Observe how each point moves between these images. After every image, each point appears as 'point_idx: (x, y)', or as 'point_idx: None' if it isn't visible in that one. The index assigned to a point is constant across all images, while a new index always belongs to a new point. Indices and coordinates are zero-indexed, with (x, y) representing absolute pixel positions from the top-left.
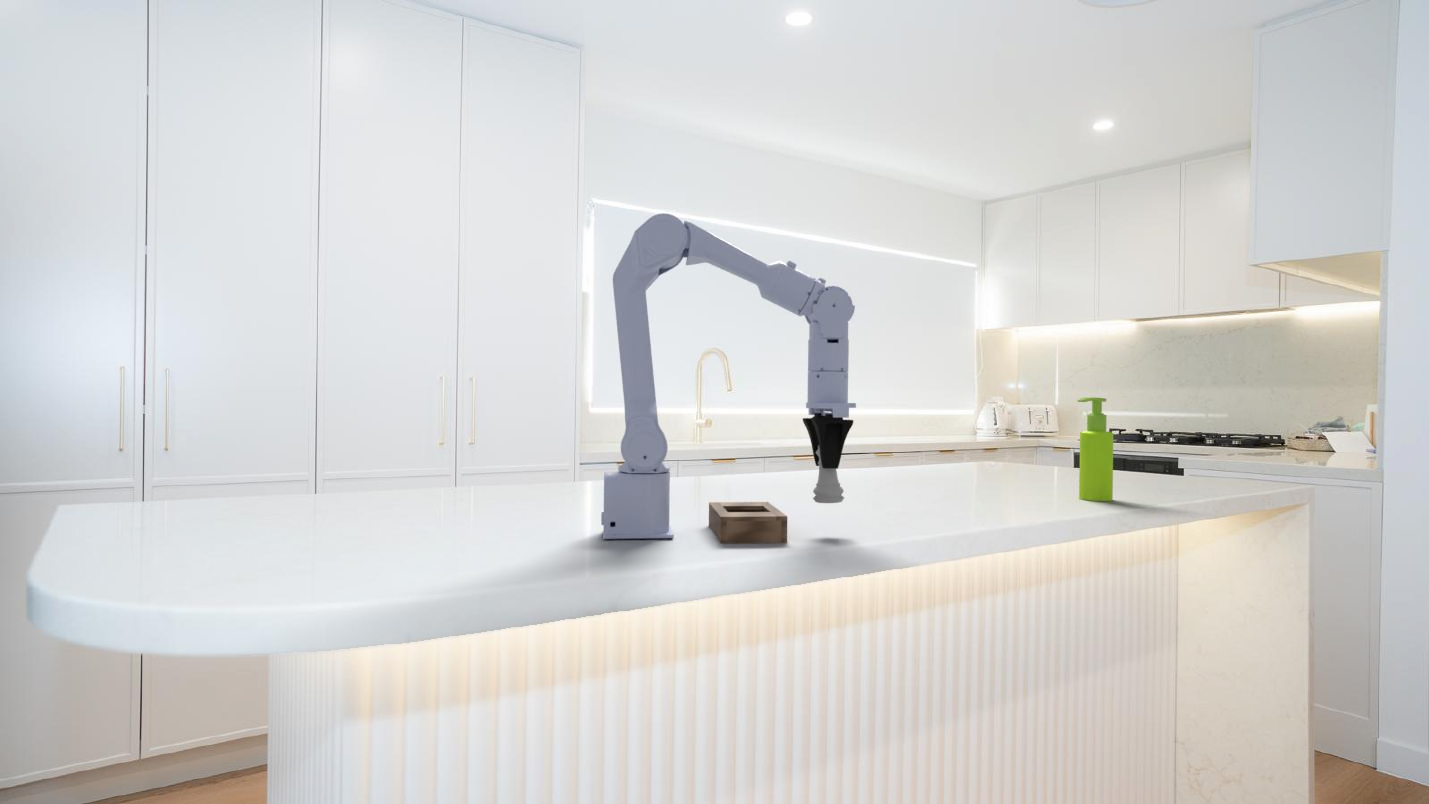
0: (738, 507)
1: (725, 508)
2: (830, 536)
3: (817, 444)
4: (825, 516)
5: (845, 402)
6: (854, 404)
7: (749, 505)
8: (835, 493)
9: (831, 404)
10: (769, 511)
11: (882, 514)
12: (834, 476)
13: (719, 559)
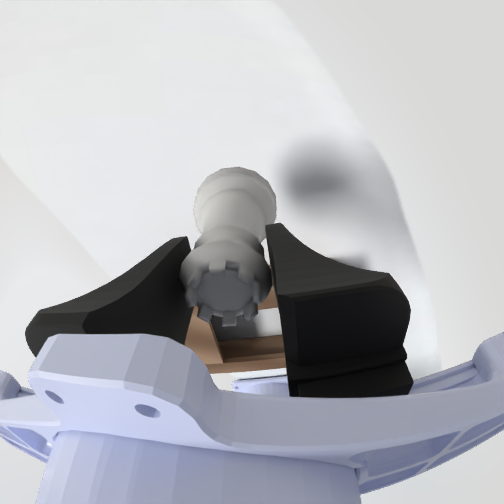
0: (217, 344)
1: (222, 357)
2: (265, 179)
3: (179, 325)
4: (49, 178)
5: (307, 467)
6: (195, 392)
7: (207, 332)
8: (273, 199)
9: (469, 443)
10: (274, 307)
11: (16, 80)
12: (255, 217)
13: (412, 325)
